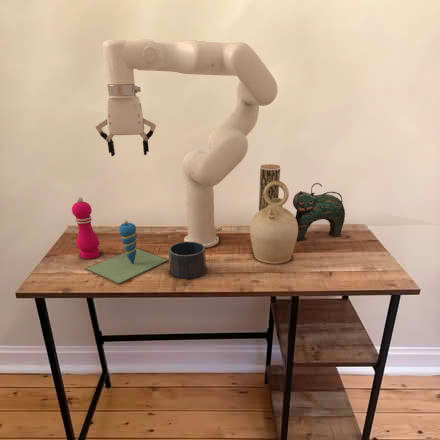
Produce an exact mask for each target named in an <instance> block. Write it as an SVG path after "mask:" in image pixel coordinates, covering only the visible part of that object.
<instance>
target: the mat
mask: <svg viewBox="0 0 440 440" xmlns="http://www.w3.org/2000/svg"><path fill="white" fill-rule="evenodd" d="M168 261H169V259H166V258H163V257H160V256H158V255H155V254H153V253H150V252H147V251H144V250H142V249H139V248H136V255H135V260H134V263H133V264H132V263H131V262H130V260H129V259H128V257H127V255H126V251H125V252H122V253H120V254H117V255H115V256H113V257H109V258H108V259H105V260H102V261H100V262H98V263H95V264H93V265H91V266H88V267H86V270H87V271H90V272H91V273H94V274H96V275H99V276H101V277H103V278H105V279H107V280H109V281H111V282H114V283H116V284H118V285H120V284H122V283H125V282H126V281H130V280H131V279H133V278H135V277H138V276H140V275H141V274H144V273H146V272H148V271H150V270H152V269H154V268H156V267H158V266H160V265H163V264H165V263H167V262H168Z"/></svg>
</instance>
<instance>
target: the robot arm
mask: <svg viewBox="0 0 440 440" xmlns="http://www.w3.org/2000/svg"><path fill="white" fill-rule="evenodd" d="M101 47H102V54H103V62H104V69H105V76H106V85H107V92H108V96H107V97H106V119H105V120H103V121H101V122H100V123H98V124H97V125H96V126H95V129H96V131H97V132H98V134H99V135H100V137H101V138H102V139H103V140H104V141H106V142H107V149H108V153H109V154H110V156H111V157H114V156H115V155H116V151H115V143H114V142H115V141H113V137H114V136H138V135H139V136H140V137H141V138H142V139H143V140H142V149H143V155H144V156H147V155H148V152H149V151H150V148H149V139H150V138H151V137H152V136H153V135H154V132H155V130H156V128H157V124H156V123H154V122H152V121H151V120H149V119H146V118H145V117H144V114H143V108H142V104H141V99H140V96H137V94H138V93H141V86H137V85H136V84H135V73H134V71H135V70H138V71H146V72H150V71H151V72H154V71H155V72H171V73H179V74H184V75H199V76H201V75H202V76H204V75H205V76H224V77H225V76H226V77H227V76H229V77H230V76H232V77H237V78H238V83H237V86H236V104H235V106H234V109H233V111H232V112H231V113H230V114H229V115H228V117H226V118H225V119H224V120H223V121H222V122H221V123H220V124H219V125H218V126H217V127H216V128H215V129H214V130H213V131H212V132H211V133H210V135H209V137H208V139H207V146H208V150H209V152H207V151H204V150H203V149H202V150H201V149H192V150H190V151H188V152H187V153H186V154H185V156H184V157H183V160H182V175H183V181H184V188H185V203H186V223H187V235H186V236H185V237H184V238H183V242H186V241H188V242H197V243H200V244H203V246H204V247H205V249H207V248H211V247H215V246H216V245H218V244H219V242H220V238H219V236H218V235H217V233H218V232H221V231H222V230H223V226H222V225H220V224H218V225H217V226H215V190H214V189H215V188H214V186H216V185H218V184H220V183H221V182H222V181H223V180H224V179H225V178H226V177H227V176H228V175H229V174H231V172H232V171H233V170H234V169H236V168H237V166H238V165H239V164H240V163H242V161H243V160H244V159H245V157H246V155H247V153H248V149H249V141H248V138H247V137H248V135H249V134H250V133H251V132H252V130H253V129H254V128H255V126H256V124H257V122H258V119H259V113H260V106H261V107H265V106H269V105H270V104H272V103H273V102H274V101H275V100H276V98H277V95H278V83H277V81H276V79H275V77H274V76H273V74H272V73H271V72H270V70H269V68H268V67H267V66H266V65H265V63H264V62H263V61H262V59H261V57H260V56H259V55H258V54H257V52H256V51H255V50H254V48H252V46H250V45H249V44H248V43H246V42H242V41H241V42H219V41H218V42H217V41H204V40H182V41H172V42H171V41H170V42H169V41H167V42H165V41H155V40H153V39H150V38H141V39H135V40H126V39H106V40H104V41H103V42H102V46H101ZM145 125H146V126H148V127H149V128H150V129H149V130H148V132H147V133H146V132H145ZM106 126H107V131H108V134H107V133H106V132H105V131H104V130H103V128H104V127H106Z"/></svg>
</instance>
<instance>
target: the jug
mask: <svg viewBox="0 0 440 440" xmlns="http://www.w3.org/2000/svg"><path fill="white" fill-rule="evenodd" d="M273 186H279V188H280V189H281V190H282V192H283V198H281V197H278V198H273V199H272V200H271V199H270V197H269V189H270V188H271V187H273ZM289 196H290V192H289V188H288V187H287V185H286V184H285V183H284V182H283V181H280V180H279V181H278V180H276V181H272V182H270V183H269V184H267V186H266V187H265V189H264V199H265V201H266V202H267V203H268V206H267V207H266V208H263V209H262V210H260V211H259V210H258V211H257V212H256V213H255V214H254V215H253V217H252V219H251V221H250V225H249V235H250V242H251V247H252V252H253V255H254V257H255V259H256V260H258V261H259V262H261V263H264V264H268V265H270V264H271V265H279V264H280V265H281V264H284V263H287V262H289V261H290V260H291V259H292V255H293V253H294V251H295V248H296V247H295V246H296V243H297V236H298V224H297V220H296V218H295V217H296V215H294V214H293V213H292V211H290V210H288V209H287V208H285V207H283V205H285V204H286V203H287V202H288V200H289Z"/></svg>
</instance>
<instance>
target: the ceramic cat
mask: <svg viewBox="0 0 440 440" xmlns="http://www.w3.org/2000/svg"><path fill="white" fill-rule="evenodd" d="M316 185H319V186H320V187H321V188H322V187H323V185H322V184H321V183H320V182H316V183H314V184H312V185H311V188H310V193H309V192H306V191H301V190H300V191H299V192H297V193H296V194H294V196H293V198H292V205H293V207H294V209H295V210H296V212H295V218H296V220H297V224H298V236H297V240H296V242H297V241H304V240H305V237H306V234H307V232H308V229H309V228H310V227H311V225H312V224H313V223H314V222H317V221H321V220H325V221H327V222H329V235H331V236H332V237H339V236H341V233H342V229H343V226H344V223H345V218H346V209H345V207H344V206H345V205H344V204H343V196H342V195H341V194H340V193H339V192H337V191H327V192H326V191H325V192H324V193H321V194H320V193H319V194H316V192H313V187H314V186H316ZM330 193H331V194H330ZM333 194H337V195H338V196H339V197H340V198H338V197H337V196H335V195H333Z"/></svg>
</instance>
